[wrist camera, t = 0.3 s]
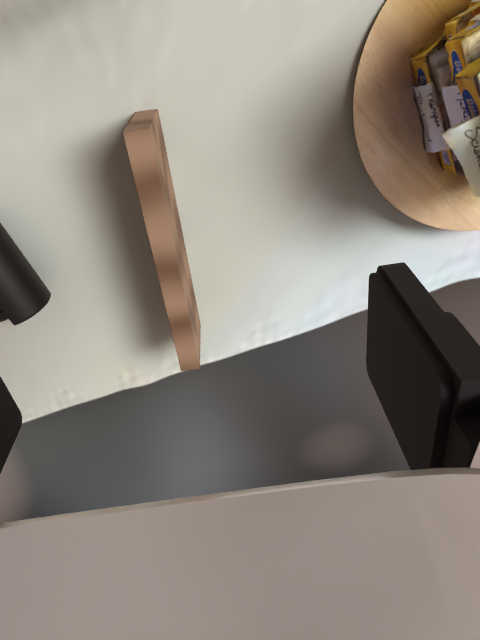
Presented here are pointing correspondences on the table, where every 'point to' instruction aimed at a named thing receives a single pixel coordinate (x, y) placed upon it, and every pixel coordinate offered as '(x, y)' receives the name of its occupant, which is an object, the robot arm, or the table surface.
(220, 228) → the table surface
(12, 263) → the end cap
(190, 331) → the walnut board
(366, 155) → the stacked tins on plate
